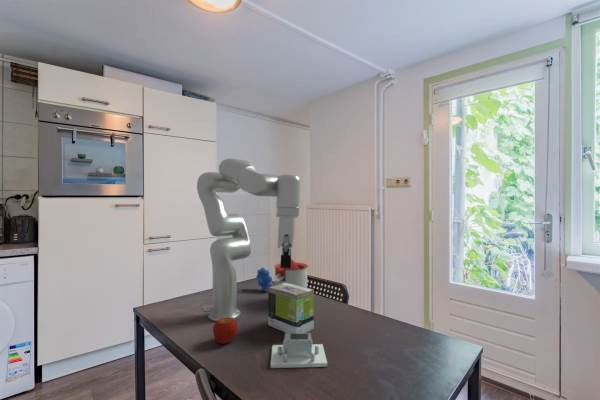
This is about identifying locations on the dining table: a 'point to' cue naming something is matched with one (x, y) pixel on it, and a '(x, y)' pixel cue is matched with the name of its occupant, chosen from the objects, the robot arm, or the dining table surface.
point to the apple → (225, 330)
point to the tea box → (291, 308)
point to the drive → (298, 345)
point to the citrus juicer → (291, 274)
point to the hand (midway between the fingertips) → (285, 263)
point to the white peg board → (282, 361)
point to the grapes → (264, 279)
